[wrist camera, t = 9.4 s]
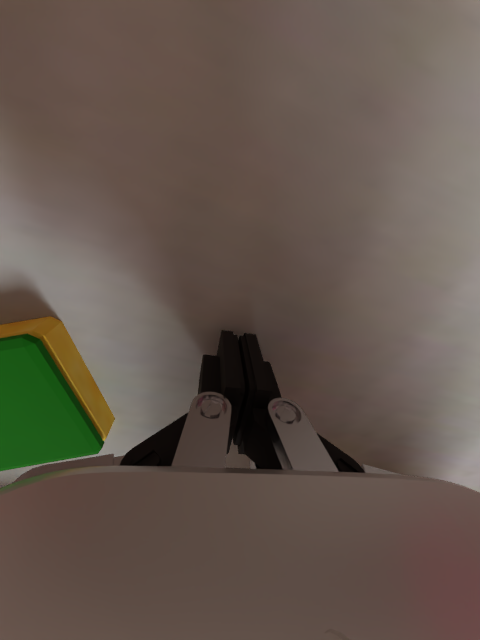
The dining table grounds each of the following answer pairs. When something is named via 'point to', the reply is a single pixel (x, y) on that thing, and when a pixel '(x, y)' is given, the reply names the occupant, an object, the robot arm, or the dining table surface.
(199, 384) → the robot arm
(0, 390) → the dish sponge
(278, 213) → the dining table surface
